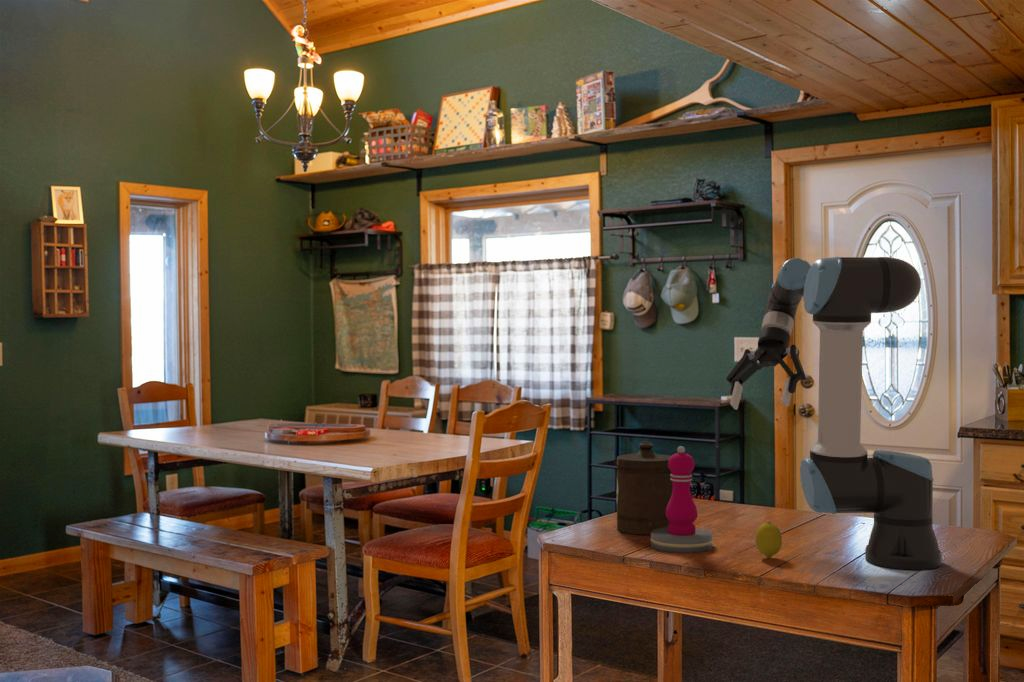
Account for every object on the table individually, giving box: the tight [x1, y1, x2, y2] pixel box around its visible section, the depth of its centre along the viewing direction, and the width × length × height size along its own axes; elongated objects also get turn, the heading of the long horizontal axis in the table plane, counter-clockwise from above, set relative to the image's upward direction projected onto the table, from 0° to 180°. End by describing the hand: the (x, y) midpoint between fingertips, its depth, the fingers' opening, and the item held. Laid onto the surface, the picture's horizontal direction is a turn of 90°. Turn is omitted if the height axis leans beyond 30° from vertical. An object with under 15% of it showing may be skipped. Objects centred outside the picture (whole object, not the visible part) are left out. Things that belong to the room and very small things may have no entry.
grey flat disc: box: [650, 527, 713, 554], centre depth 226 cm, size 14×14×3 cm
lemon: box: [755, 521, 783, 559], centre depth 213 cm, size 6×6×8 cm
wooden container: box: [616, 440, 673, 536], centre depth 245 cm, size 15×15×22 cm
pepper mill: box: [666, 445, 698, 536], centre depth 226 cm, size 7×7×20 cm
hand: (758, 405), depth 237 cm, fingers open, 13 cm apart
